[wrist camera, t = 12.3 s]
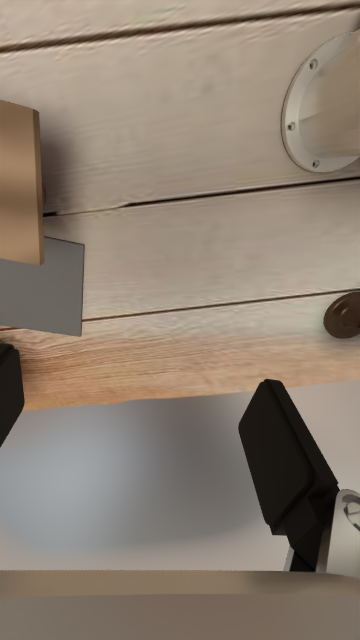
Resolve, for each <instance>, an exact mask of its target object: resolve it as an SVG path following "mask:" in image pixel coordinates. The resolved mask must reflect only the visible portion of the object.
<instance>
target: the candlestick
mask: <svg viewBox="0 0 360 640" xmlns="http://www.w3.org/2000/svg"><path fill="white" fill-rule="evenodd" d="M323 323H324V327H325V329H326V330H327V331H328V332H329V333H330V334H331V335H332V336H334V337H336V338H350V337H353V336H356V335H358V334H360V292H353V293H349V294H346V295H344V296H342V297H340V298H339V299H337V300H336V301H335V302H334V303H333V304H332V305H331V306H330V307H329V308H328V310H327V311H326V313H325V316H324V322H323Z"/></svg>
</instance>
